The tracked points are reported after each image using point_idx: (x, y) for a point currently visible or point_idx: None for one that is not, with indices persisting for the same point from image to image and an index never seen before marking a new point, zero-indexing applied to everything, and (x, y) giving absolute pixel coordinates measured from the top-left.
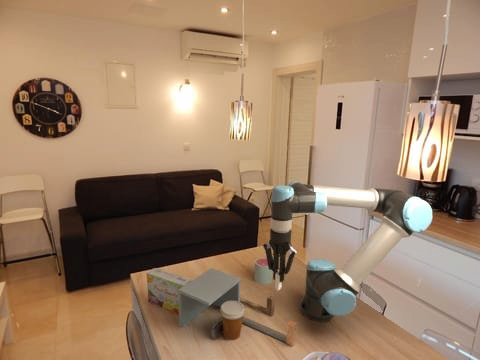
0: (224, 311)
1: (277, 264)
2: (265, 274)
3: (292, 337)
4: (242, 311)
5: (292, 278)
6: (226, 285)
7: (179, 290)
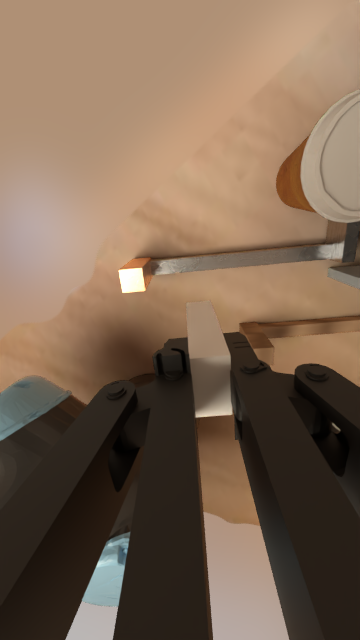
0: None
1: (251, 459)
2: None
3: (129, 263)
4: (311, 169)
5: None
6: None
7: None
